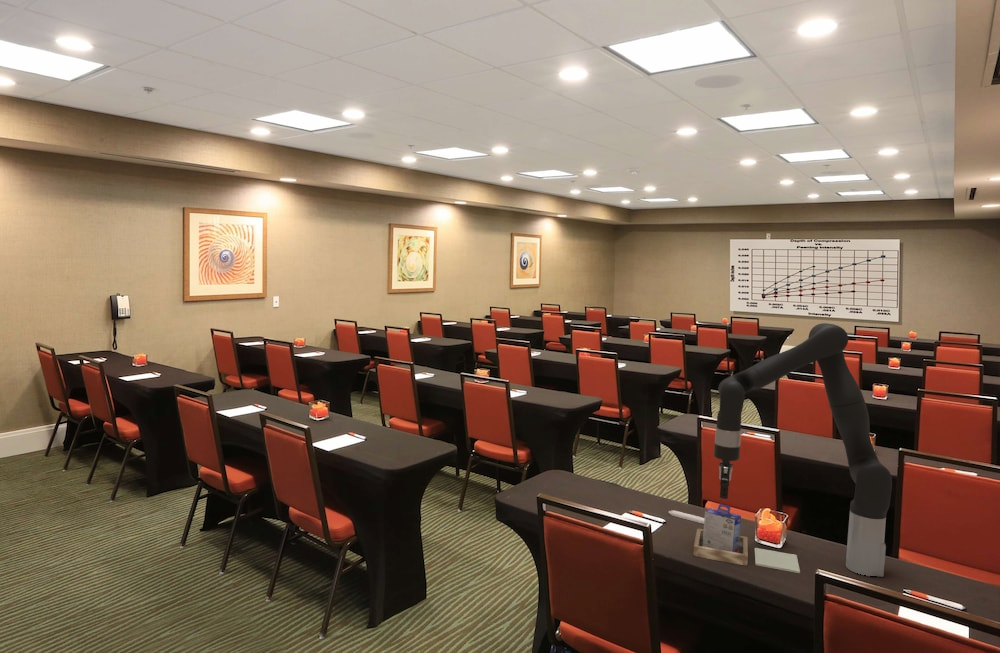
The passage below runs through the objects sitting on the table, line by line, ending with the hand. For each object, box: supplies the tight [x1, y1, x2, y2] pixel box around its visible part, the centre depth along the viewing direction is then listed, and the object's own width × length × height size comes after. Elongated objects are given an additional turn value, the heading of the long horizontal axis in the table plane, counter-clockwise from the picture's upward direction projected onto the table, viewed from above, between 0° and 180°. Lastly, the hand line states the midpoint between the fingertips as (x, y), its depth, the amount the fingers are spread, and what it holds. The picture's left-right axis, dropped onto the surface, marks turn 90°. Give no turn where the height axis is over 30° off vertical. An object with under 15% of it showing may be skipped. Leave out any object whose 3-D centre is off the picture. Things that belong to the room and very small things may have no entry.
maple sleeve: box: [692, 528, 749, 567], centre depth 191 cm, size 15×15×3 cm
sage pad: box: [754, 547, 801, 574], centre depth 185 cm, size 12×12×1 cm
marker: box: [668, 510, 704, 525], centre depth 216 cm, size 18×2×2 cm, turn 53°
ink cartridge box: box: [702, 503, 742, 553], centre depth 191 cm, size 10×6×14 cm, turn 48°
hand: (724, 494), depth 190 cm, fingers open, 8 cm apart
